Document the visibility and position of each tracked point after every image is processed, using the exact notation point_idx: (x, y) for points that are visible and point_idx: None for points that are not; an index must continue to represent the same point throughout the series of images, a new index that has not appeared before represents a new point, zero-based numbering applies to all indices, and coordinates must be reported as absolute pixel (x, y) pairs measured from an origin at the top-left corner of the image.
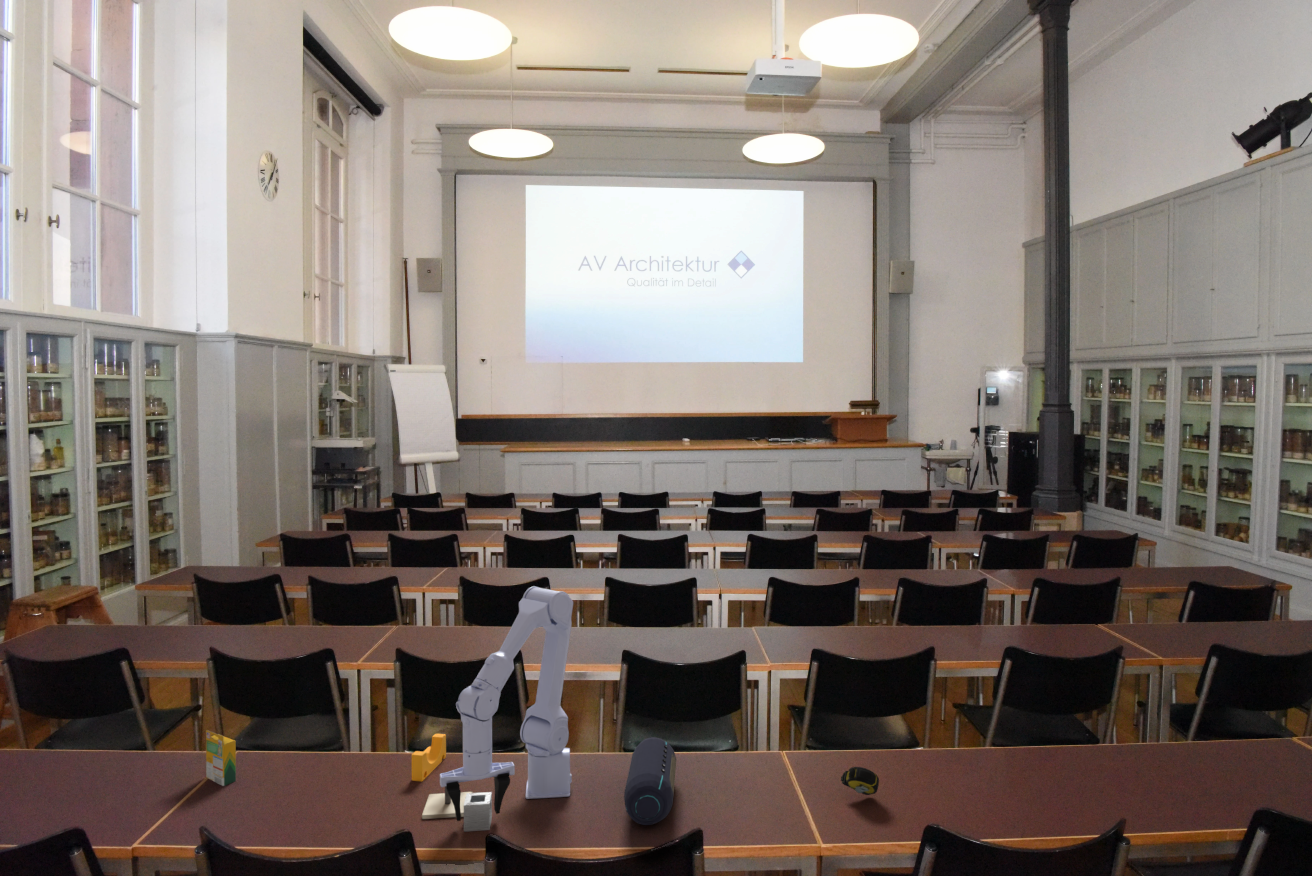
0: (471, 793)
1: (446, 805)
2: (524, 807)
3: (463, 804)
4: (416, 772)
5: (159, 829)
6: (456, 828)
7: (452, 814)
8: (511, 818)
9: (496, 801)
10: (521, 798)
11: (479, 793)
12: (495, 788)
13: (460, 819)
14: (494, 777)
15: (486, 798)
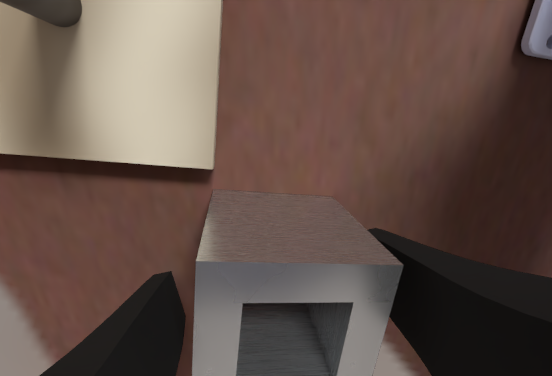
0: (240, 266)
1: (57, 43)
2: (484, 134)
3: (180, 58)
4: None
5: None
6: (170, 265)
7: (126, 161)
8: (409, 221)
9: (400, 309)
10: (500, 28)
11: (308, 279)
12: (454, 322)
13: (183, 324)
14: (549, 354)
15: (352, 353)
